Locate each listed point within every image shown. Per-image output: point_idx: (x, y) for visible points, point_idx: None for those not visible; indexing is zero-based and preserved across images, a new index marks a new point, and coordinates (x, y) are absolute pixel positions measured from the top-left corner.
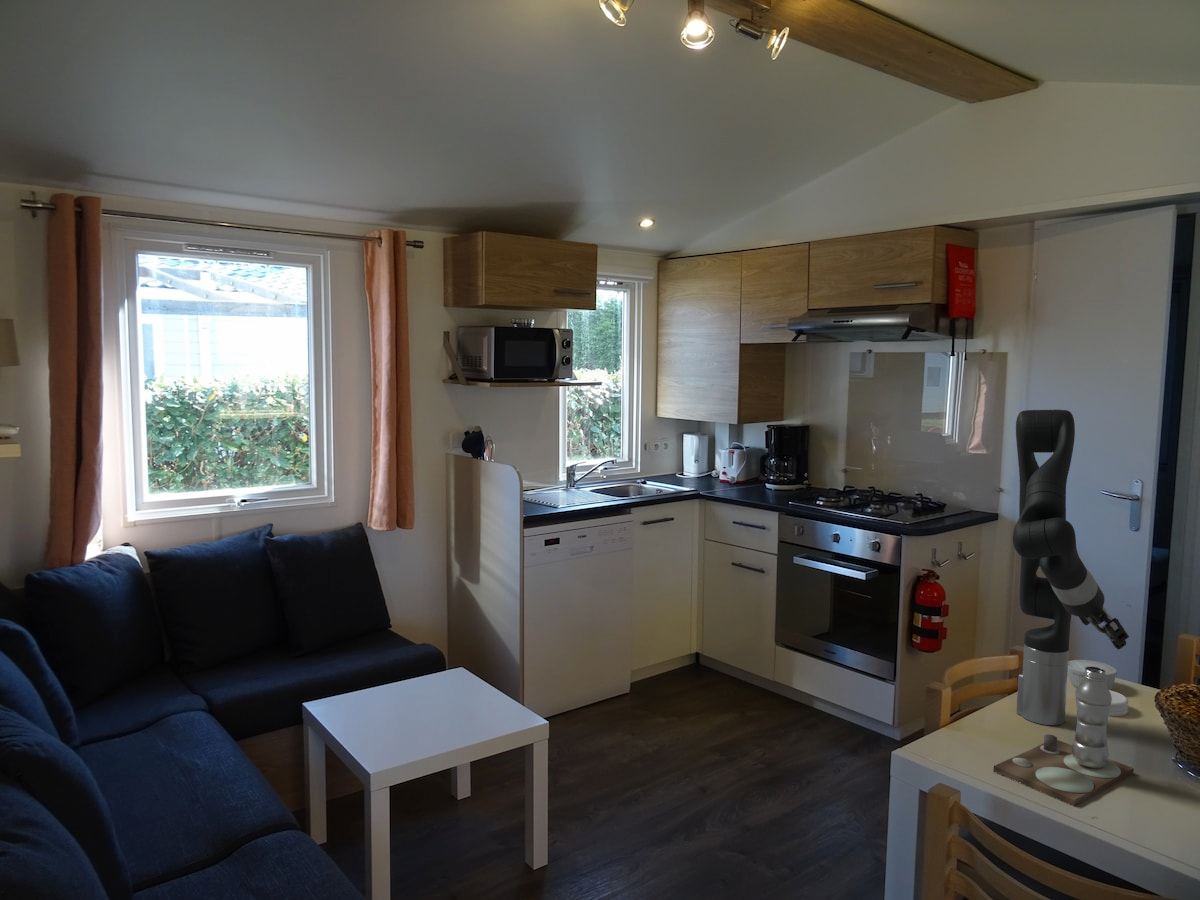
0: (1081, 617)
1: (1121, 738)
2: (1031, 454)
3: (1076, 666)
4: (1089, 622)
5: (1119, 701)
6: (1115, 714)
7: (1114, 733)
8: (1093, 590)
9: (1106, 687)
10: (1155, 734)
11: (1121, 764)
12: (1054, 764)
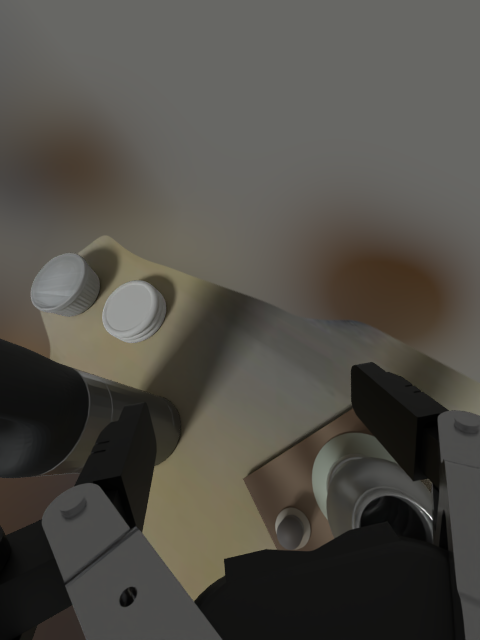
0: (143, 515)
1: (232, 346)
2: None
3: (47, 297)
4: (151, 428)
5: (150, 296)
6: (164, 312)
7: (215, 346)
8: None
9: (411, 491)
10: (223, 292)
11: (346, 416)
12: None
